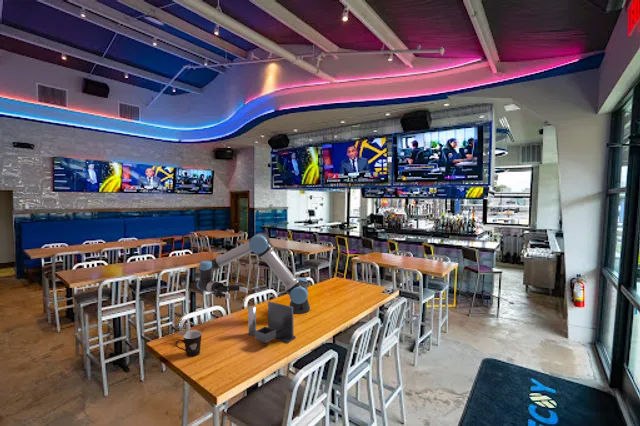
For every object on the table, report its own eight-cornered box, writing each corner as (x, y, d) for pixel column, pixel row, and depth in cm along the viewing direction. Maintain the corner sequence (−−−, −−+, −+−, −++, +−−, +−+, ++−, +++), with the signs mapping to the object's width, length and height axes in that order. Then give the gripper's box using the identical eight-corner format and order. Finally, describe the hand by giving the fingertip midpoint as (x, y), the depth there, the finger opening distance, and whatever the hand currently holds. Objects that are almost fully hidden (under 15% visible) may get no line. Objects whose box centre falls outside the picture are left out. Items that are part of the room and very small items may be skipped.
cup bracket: (271, 331, 185) (271, 300, 184) (295, 338, 175) (295, 306, 174) (248, 343, 169) (247, 310, 168) (273, 352, 159) (272, 317, 158)
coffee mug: (204, 349, 162) (204, 331, 162) (198, 358, 154) (198, 338, 153) (182, 350, 162) (181, 331, 162) (175, 358, 153) (174, 339, 153)
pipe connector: (176, 346, 166) (176, 328, 166) (179, 338, 176) (179, 321, 175) (196, 344, 169) (195, 326, 168) (198, 336, 178) (198, 319, 178)
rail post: (252, 331, 184) (252, 305, 183) (257, 333, 182) (257, 306, 181) (247, 334, 180) (246, 307, 180) (252, 336, 178) (251, 309, 177)
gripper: (231, 288, 207) (253, 294, 196) (198, 298, 186) (221, 305, 175) (231, 277, 207) (253, 282, 195) (198, 286, 186) (221, 292, 174)
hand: (238, 293), depth 185 cm, fingers open, 13 cm apart
